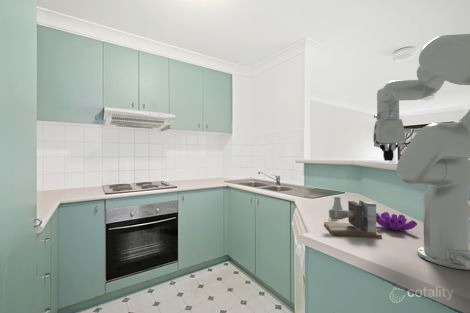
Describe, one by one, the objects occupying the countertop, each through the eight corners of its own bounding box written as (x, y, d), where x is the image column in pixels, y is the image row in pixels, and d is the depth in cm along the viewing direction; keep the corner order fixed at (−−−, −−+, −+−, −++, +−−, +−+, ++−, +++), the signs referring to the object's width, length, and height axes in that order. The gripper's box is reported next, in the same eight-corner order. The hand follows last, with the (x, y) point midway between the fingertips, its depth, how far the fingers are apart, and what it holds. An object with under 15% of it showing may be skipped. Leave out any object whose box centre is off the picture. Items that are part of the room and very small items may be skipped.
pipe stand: (381, 238, 79) (381, 205, 79) (333, 235, 82) (333, 204, 82) (365, 226, 93) (364, 198, 93) (324, 224, 95) (324, 197, 96)
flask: (326, 215, 111) (326, 196, 111) (337, 214, 113) (337, 195, 113) (336, 219, 104) (336, 199, 104) (348, 218, 106) (348, 198, 106)
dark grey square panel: (362, 228, 82) (362, 205, 82) (356, 228, 83) (356, 205, 83) (353, 221, 91) (353, 201, 91) (348, 221, 91) (348, 201, 92)
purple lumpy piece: (394, 242, 83) (377, 221, 85) (381, 230, 98) (367, 212, 100) (422, 227, 81) (403, 206, 82) (405, 217, 95) (390, 199, 97)
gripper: (372, 116, 86) (373, 160, 86) (413, 114, 84) (414, 160, 84) (364, 119, 94) (365, 160, 94) (402, 118, 91) (402, 160, 91)
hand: (388, 160), depth 89 cm, fingers closed
